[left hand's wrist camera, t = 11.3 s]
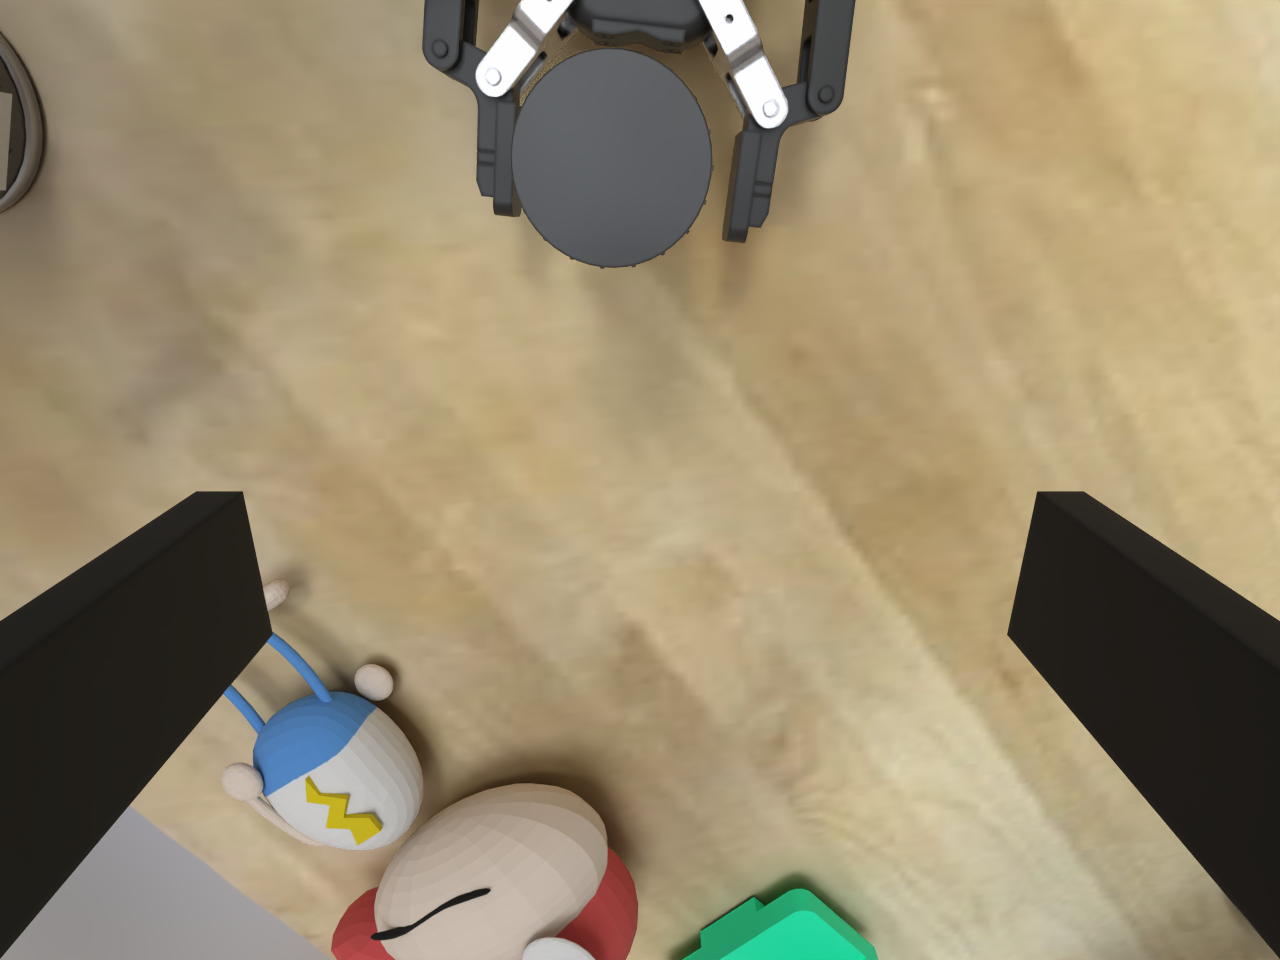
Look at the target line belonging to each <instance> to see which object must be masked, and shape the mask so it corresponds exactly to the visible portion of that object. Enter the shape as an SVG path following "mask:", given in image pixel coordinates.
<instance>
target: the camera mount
mask: <svg viewBox="0 0 1280 960" xmlns="http://www.w3.org/2000/svg"><path fill="white" fill-rule="evenodd" d="M700 938H701V948H700V949H698V950H696V951H695V952H693V953H692V954H690V955H689V956H687V957H686V958H684V959H683V960H878V958H877V954H876V951H875V948H874V946H872V945H871V944H870V943H869V942H868V941H867V940H866V939H864V938H863V937H862V936H861V935H860V934H859V933H857V932H856V931H855V930H854V929H853V928H852V927H850V926H849V925H848V924H847V923H846V922H845V921H844V920H842V919H841V918H840V917H839V916H838V915H837V914H835V913H834V912H833V911H832V910H831V909H830V908H829V907H827V906H826V905H825V904H824V903H823V902H822V901H820V900H819V899H818V898H817V897H816V896H815V895H813V894H812V893H811V892H810V891H808V890H805V889H793V890H790V891H788V892H786V893H785V894H783V895H782V896H780V897H779V898H777V899H776V900H774V901H773V902H771V903H769V904H768V905H766V906H764V905H763V904H762V903H761V902H760V901H758V900H757V899H756V898H755V897H753V898H751V899H750V900H748V901H747V902H745V903H744V904H742V905H741V906H739V907H738V908H736V909H734V910H733V911H731V912H730V913H728V914H727V915H725V916H724V917H722V918H721V919H719V920H718V921H716V922H715V923H713V924H711V925H710V926H708V927H707V928H705V929H704V930H702V931H701V932H700Z"/></svg>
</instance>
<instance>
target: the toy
mask: <svg viewBox="0 0 1280 960" xmlns="http://www.w3.org/2000/svg"><path fill="white" fill-rule="evenodd" d="M289 589H290V587H289V585H288V583H287V582H286V581H284V580H275V581H273V582H271V583H269V584H267V585H265V586H263V590H264V595H265V600H266V605H267V610H268V611H270V610H272V609H273V608H275V607H276V606H278V605H279V604H281V603H282V602H283V601H284V600H285V599H286V597H287V596H288V593H289ZM272 633H273V635H272V636H271V637H270V639H269V640H268V641H267V642H268V643H269V644H270V645H271V646H273V647H274V648H275V649H276V650H277V651H278V652H280V653H281V654H282V655H283V656H284V657H285V658H286V659H287V660H288V661H289V662H290V663H291V664H292V665H293V666H294V668H295V669H296V670H297V671H298V672H299V673H300V674H301V675H302V676H303V677H304V679H305V680H306V681H307V683H308V684H309V685H310V687H311V688H312V689H313V691H314V692H315V694H312V695H309V696H305V697H302V698H300V699H298V700H296V701H294V702H291V703H289V704H288V705H287V706H285V707H284V708H282V709H281V710H280V711H278V712H277V713H276V714H274V715H273V716H272V717H271V718H270V719H269V720H268V722H267V723H266V724H265V723H264V721H263V720H262V719H261V717H260V716H259V715H258V714H257V712H256V711H255V710H254V708H253V707H252V706H251V705H250V704H249V703H248V702H247V700H246V699H245V698H244V697H243V696H242V695H241V694H240V693H239V692H238V691H237V690H236V689H235V688H234V687H233V686H232V685H230V686H229V687H228V688H227V690H226V691H225V692H224V693H223V694H224V695H225V696H226V697H227V698H228V699H229V700H230V701H231V702H232V703H233V704H234V705H235V706H236V707H237V708H238V710H239V711H240V712H241V713H242V714H243V715H244V717H245V718H246V719H247V720H248V722H249V723H250V724H251V726H252V727H253V728H254V729H255V731H256V732H257V733H258V737H257V740H256V743H255V746H254V749H253V766H251V765H248V764H246V763H234V764H231V765H229V766H228V767H227V768H226V769H225V770H224V771H223V774H222V785H223V787H224V789H225V790H226V792H227V794H228V795H230V796H232V797H233V798H235V799H236V800H240V801H246V802H247V803H248V804H250V805H251V806H252V807H253V808H254V809H255V810H256V811H257V812H258V813H260V814H261V815H262V816H264V817H265V818H266V819H268V820H269V821H270V822H272V823H273V824H274V825H276V826H277V827H279V828H280V829H281V830H283V831H284V832H286V833H288V834H289V835H291V836H293V837H294V838H296V839H298V840H300V841H301V842H303V843H305V844H309V845H314V846H332V847H337V848H341V849H347V850H362V851H364V850H372V849H376V848H380V847H384V846H386V845H388V844H390V843H392V842H394V841H395V840H397V839H398V838H400V837H401V836H402V835H403V834H404V833H405V832H406V831H407V830H408V829H409V827H410V826H411V825H412V824H413V822H414V820H415V819H416V817H417V815H418V812H419V810H420V807H421V803H422V799H423V776H422V770H421V766H420V764H419V761H418V758H417V756H416V753H415V751H414V749H413V748H412V746H411V744H410V743H409V741H408V739H407V738H406V736H405V735H404V733H403V732H402V731H401V730H400V728H399V727H398V726H397V725H396V724H395V723H394V722H393V721H392V720H391V719H390V718H389V717H388V716H387V715H386V714H385V713H384V712H383V711H381V710H380V709H379V708H378V707H377V706H375V705H374V704H372V703H370V702H369V701H367V700H366V699H364V698H361V697H359V696H357V695H354V694H350V693H346V692H338V691H331V692H329V691H328V690H327V688H326V687H325V685H324V684H323V683H322V681H321V680H320V679H319V677H318V676H317V674H316V673H315V672H314V670H313V669H312V668H311V667H310V666H309V665H308V664H307V663H306V662H305V660H304V659H303V658H302V657H301V656H300V655H299V654H298V653H297V652H296V651H295V650H294V649H293V648H292V647H291V646H290V645H289V644H287V643H286V642H285V641H284V640H283V639H282V638H280V637H279V636H278V635H276V634H275V633H274V632H272ZM355 686H356V688H357V690H358V692H359V693H360V694H361V695H363V696H364V697H365V698H367V699H369V700H374V701H378V700H383V699H385V698H387V697H388V696H389V695H390V694H391V692H392V690H393V679H392V676H391V675H390V673H389V672H388V671H387V670H386V669H384V668H383V667H381V666H379V665H375V664H367V665H364V666H362V667H361V668H360V669H359V670H358V671H357V673H356V675H355ZM262 792H263V794H264V796H265V798H266V799H267V801H268V802H269V803H270V805H271V806H272V807H271V806H270V805H268V804H267V803H266V802H265V801H264V800H263V799H261V798H260V797H259V795H260V794H261V793H262ZM637 917H638V901H637V895H636V890H635V885H634V881H633V879H632V877H631V875H630V873H629V871H628V869H627V868H626V866H625V865H624V863H623V862H622V861H621V859H620V858H619V857H618V855H617V854H616V853H615V852H614V851H613V850H611V849H610V848H609V847H608V846H607V834H606V830H605V825H604V823H603V821H602V820H601V818H600V816H599V814H598V813H597V812H596V811H595V810H594V809H593V808H592V807H591V806H590V805H589V804H587V803H586V802H585V801H584V800H583V799H582V798H581V797H579V796H578V795H576V794H574V793H573V792H571V791H569V790H566V789H563V788H561V787H558V786H551V785H543V784H532V783H521V784H511V785H506V786H501V787H496V788H492V789H487V790H484V791H482V792H479V793H476V794H474V795H471V796H469V797H466V798H464V799H462V800H460V801H458V802H456V803H454V804H452V805H450V806H448V807H447V808H445V809H444V810H442V811H441V812H439V813H437V814H436V815H434V816H433V817H432V818H430V819H429V820H428V821H427V822H425V823H424V824H423V825H422V826H420V827H419V828H418V829H417V830H416V831H415V832H414V833H413V834H412V835H411V836H410V837H409V838H408V839H407V840H406V841H405V843H404V844H403V845H402V846H401V847H400V849H399V850H398V851H397V853H396V854H395V855H394V857H393V858H392V860H391V861H390V863H389V865H388V866H387V868H386V870H385V873H384V875H383V878H382V880H381V883H380V886H379V887H377V888H373V889H371V890H368V891H366V892H365V893H364V894H363V895H362V896H360V897H359V898H358V899H357V900H356V901H354V902H353V903H352V904H351V905H350V906H349V907H348V909H347V910H346V912H345V913H344V915H343V917H342V918H341V920H340V922H339V924H338V926H337V928H336V930H335V932H334V934H333V939H332V947H331V951H332V952H333V954H334V955H335V957H336V959H337V960H626V958H627V956H628V954H629V952H630V949H631V946H632V943H633V940H634V936H635V933H636V930H637Z"/></svg>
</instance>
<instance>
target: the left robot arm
mask: <svg viewBox="0 0 1280 960" xmlns="http://www.w3.org/2000/svg"><path fill="white" fill-rule="evenodd" d="M272 635H273V633H272V629H271V624H270V619H269V614H268V610H267V605H266V600H265V595H264V590H263V586H262V581H261V576H260V571H259V567H258V562H257V557H256V552H255V548H254V543H253V538H252V533H251V529H250V524H249V519H248V514H247V510H246V505H245V500H244V495H243V492H195V493H193V494H192V495H190V496H189V497H187V498H186V499H184V500H183V501H181V502H180V503H178V504H177V505H175V506H174V507H172V508H171V509H169V510H168V511H166V512H165V513H163V514H162V515H160V516H159V517H157V518H156V519H154V520H152V521H151V522H149V523H148V524H146V525H145V526H143V527H142V528H140V529H139V530H137V531H136V532H134V533H133V534H131V535H130V536H128V537H127V538H125V539H124V540H122V541H121V542H119V543H118V544H116V545H115V546H113V547H112V548H110V549H109V550H107V551H106V552H104V553H103V554H101V555H100V556H98V557H97V558H95V559H94V560H92V561H91V562H89V563H87V564H86V565H84V566H83V567H81V568H80V569H78V570H77V571H75V572H74V573H72V574H71V575H69V576H68V577H66V578H65V579H63V580H62V581H60V582H59V583H57V584H56V585H54V586H53V587H51V588H50V589H48V590H47V591H45V592H44V593H42V594H41V595H39V596H38V597H36V598H35V599H33V600H32V601H30V602H29V603H27V604H26V605H24V606H22V607H21V608H19V609H18V610H16V611H15V612H13V613H12V614H10V615H9V616H7V617H6V618H4V619H3V620H1V621H0V958H1V957H2V956H3V955H4V954H5V952H6V951H7V950H8V949H9V948H10V946H11V945H12V944H13V943H14V942H15V940H16V939H17V938H18V937H19V936H20V935H21V933H22V932H23V931H24V930H25V929H26V927H27V926H28V925H29V924H30V923H31V921H32V920H33V919H34V918H35V917H36V915H37V914H38V913H39V912H40V911H41V910H42V908H43V907H44V906H45V905H46V904H47V902H48V901H49V900H50V899H51V898H52V896H53V895H54V894H55V893H56V892H57V890H58V889H59V888H60V887H61V886H62V885H63V883H64V882H65V881H66V880H67V879H68V877H69V876H70V875H71V874H72V873H73V872H74V870H75V869H76V868H77V867H78V866H79V864H80V863H81V862H82V861H83V860H84V858H85V857H86V856H87V855H88V854H89V852H90V851H91V850H92V849H93V848H94V847H95V845H96V844H97V843H98V842H99V841H100V839H101V838H102V837H103V836H104V835H105V833H106V832H107V831H108V830H109V829H110V828H111V826H112V825H113V824H114V823H115V822H116V820H117V819H118V818H119V817H120V816H121V814H122V813H123V812H124V811H125V810H126V808H127V807H128V806H129V805H130V804H131V803H132V801H133V800H134V799H135V798H136V797H137V795H138V794H139V793H140V792H141V791H142V789H143V788H144V787H145V786H146V785H147V784H148V782H149V781H150V780H151V779H152V778H153V776H154V775H155V774H156V773H157V772H158V770H159V769H160V768H161V767H162V766H163V765H164V763H165V762H166V761H167V760H168V759H169V757H170V756H171V755H172V754H173V753H174V751H175V750H176V749H177V748H178V747H179V745H180V744H181V743H182V742H183V741H184V740H185V738H186V737H187V736H188V735H189V734H190V732H191V731H192V730H193V729H194V728H195V726H196V725H197V724H198V723H199V722H200V721H201V719H202V718H203V717H204V716H205V715H206V713H207V712H208V711H209V710H210V709H211V707H212V706H213V705H214V704H215V703H216V702H217V700H218V699H219V698H220V697H221V696H222V694H223V693H224V692H225V691H226V690H227V688H228V687H229V686H230V685H231V684H232V682H233V681H234V680H235V679H236V678H237V677H238V675H239V674H240V673H241V672H242V671H243V669H244V668H245V667H246V666H247V665H248V663H249V662H250V661H251V660H252V659H253V658H254V656H255V655H256V654H257V653H258V652H259V650H260V649H261V648H262V647H263V646H264V644H265V643H266V642H267V641H268V640H269V639H270V637H271V636H272ZM1007 635H1008V636H1009V637H1010V639H1011V640H1012V641H1013V642H1014V643H1015V644H1016V646H1017V647H1018V648H1019V649H1020V650H1021V652H1022V653H1023V654H1024V655H1025V656H1026V658H1027V659H1028V660H1029V661H1030V662H1031V663H1032V665H1033V666H1034V667H1035V668H1036V669H1037V671H1038V672H1039V673H1040V674H1041V675H1042V677H1043V678H1044V679H1045V680H1046V681H1047V682H1048V684H1049V685H1050V686H1051V687H1052V688H1053V690H1054V691H1055V692H1056V693H1057V694H1058V696H1059V697H1060V698H1061V699H1062V700H1063V702H1064V703H1065V704H1066V705H1067V706H1068V707H1069V709H1070V710H1071V711H1072V712H1073V713H1074V715H1075V716H1076V717H1077V718H1078V719H1079V721H1080V722H1081V723H1082V724H1083V725H1084V726H1085V728H1086V729H1087V730H1088V731H1089V732H1090V734H1091V735H1092V736H1093V737H1094V738H1095V740H1096V741H1097V742H1098V743H1099V744H1100V745H1101V747H1102V748H1103V749H1104V750H1105V751H1106V753H1107V754H1108V755H1109V756H1110V757H1111V759H1112V760H1113V761H1114V762H1115V763H1116V765H1117V766H1118V767H1119V768H1120V769H1121V770H1122V772H1123V773H1124V774H1125V775H1126V776H1127V778H1128V779H1129V780H1130V781H1131V782H1132V784H1133V785H1134V786H1135V787H1136V788H1137V789H1138V791H1139V792H1140V793H1141V794H1142V795H1143V797H1144V798H1145V799H1146V800H1147V801H1148V803H1149V804H1150V805H1151V806H1152V807H1153V809H1154V810H1155V811H1156V812H1157V813H1158V814H1159V816H1160V817H1161V818H1162V819H1163V820H1164V822H1165V823H1166V824H1167V825H1168V826H1169V828H1170V829H1171V830H1172V831H1173V832H1174V833H1175V835H1176V836H1177V837H1178V838H1179V839H1180V841H1181V842H1182V843H1183V844H1184V845H1185V847H1186V848H1187V849H1188V850H1189V851H1190V852H1191V854H1192V855H1193V856H1194V857H1195V858H1196V860H1197V861H1198V862H1199V863H1200V864H1201V866H1202V867H1203V868H1204V869H1205V870H1206V872H1207V873H1208V874H1209V875H1210V876H1211V877H1212V879H1213V880H1214V881H1215V882H1216V883H1217V885H1218V886H1219V887H1220V888H1221V889H1222V891H1223V892H1224V893H1225V894H1226V895H1227V896H1228V898H1229V899H1230V900H1231V901H1232V902H1233V904H1234V905H1235V907H1236V908H1237V909H1238V911H1239V912H1240V913H1241V914H1242V915H1243V917H1244V918H1245V919H1246V920H1247V921H1248V923H1249V924H1250V925H1251V926H1252V927H1253V928H1254V929H1255V930H1256V931H1257V932H1258V933H1259V935H1260V936H1261V937H1262V938H1263V939H1264V940H1265V942H1266V943H1267V944H1268V945H1269V946H1270V948H1271V949H1272V950H1273V951H1274V952H1275V954H1276V955H1277V956H1278V957H1279V958H1280V621H1279V620H1277V619H1276V618H1274V617H1273V616H1271V615H1270V614H1268V613H1267V612H1265V611H1264V610H1262V609H1261V608H1259V607H1258V606H1256V605H1254V604H1253V603H1251V602H1250V601H1248V600H1247V599H1245V598H1244V597H1242V596H1241V595H1239V594H1238V593H1236V592H1235V591H1233V590H1232V589H1230V588H1229V587H1227V586H1226V585H1224V584H1223V583H1221V582H1220V581H1218V580H1217V579H1215V578H1214V577H1212V576H1211V575H1209V574H1208V573H1206V572H1205V571H1203V570H1202V569H1200V568H1199V567H1197V566H1196V565H1194V564H1193V563H1191V562H1189V561H1188V560H1186V559H1185V558H1183V557H1182V556H1180V555H1179V554H1177V553H1176V552H1174V551H1173V550H1171V549H1170V548H1168V547H1167V546H1165V545H1164V544H1162V543H1161V542H1159V541H1158V540H1156V539H1155V538H1153V537H1152V536H1150V535H1149V534H1147V533H1146V532H1144V531H1143V530H1141V529H1140V528H1138V527H1137V526H1135V525H1134V524H1132V523H1131V522H1129V521H1128V520H1126V519H1124V518H1123V517H1121V516H1120V515H1118V514H1117V513H1115V512H1114V511H1112V510H1111V509H1109V508H1108V507H1106V506H1105V505H1103V504H1102V503H1100V502H1099V501H1097V500H1096V499H1094V498H1093V497H1091V496H1090V495H1088V494H1087V493H1085V492H1037V495H1036V500H1035V505H1034V510H1033V514H1032V519H1031V524H1030V529H1029V533H1028V538H1027V543H1026V548H1025V552H1024V557H1023V562H1022V567H1021V571H1020V576H1019V581H1018V586H1017V590H1016V595H1015V600H1014V605H1013V609H1012V614H1011V619H1010V624H1009V629H1008V633H1007Z"/></svg>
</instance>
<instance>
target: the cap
mask: <svg viewBox="0 0 1280 960" xmlns="http://www.w3.org/2000/svg"><path fill="white" fill-rule="evenodd" d="M511 170H512V177H513V182H514V186H515V190H516V194H517V196H518V199H519V201H520V204H521V206H522V208H523V211H524V213H525V214H526V216H527V217H528V219H529V220H530V222H531V223H532V225H533V226H534V228H535V229H536V230H537V231H538V232H539V233H540V235H541V236H542V237H543V239H544V240H545V241H547V242H548V243H550V244H551V245H552V246H553V247H554V248H556V249H557V250H559V251H560V252H562V253H563V254H565V255H566V256H569V257H570V259H572V260H573V259H575V260H577V261H580V262H583V263H586V264H589V265H593V266H599V267H600V268H602V269H604V268H605V267H610V268H617V267H628V266H632V267H635V266H636V264H640V263H643V262H646V261H648V260H651V259H653V258H655V257H657V256H658V255H660V254H661V255H664V254H665V251H666V250H668V249H669V248H671V247H672V246H673V245H674V244H675V243H676V242H678V241H679V240H680V239H681V238H682V237H683V236H684V234H685V233H686V234H688V233H689V228H690V227H691V226H692V224H693V223H694V221H695V219H696V218H697V216H698V215H699V212H700V210H701V208H702V206H703V205H705V203H706V200H705V198H706V195H707V192H708V189H709V184H710V179H711V172H712V170H713V166H712V145H711V140H710V129H709V130H708V126H707V123H706V120H705V117H704V115H703V112H702V110H701V108H700V105H699V104H698V102H697V98H696V97H695V96H694V95H693V94H692V92H691V91H690V90H689V88H688V87H687V86H686V84H685V83H684V82H683V81H682V80H681V79H680V78H679V77H678V76H677V75H676V74H675V73H674V72H673V71H672V70H671V69H669V68H668V67H666V66H665V65H663V64H662V63H661V62H659V61H657V60H655V59H653V58H651V57H649V56H647V55H644V54H642V53H639V52H636V51H631V50H626V49H621V48H601V49H593V50H589V51H585V52H581V53H579V54H576V55H574V56H571V57H569V58H567V59H565V60H564V61H562V62H560V63H559V64H557V65H555V66H554V67H553V68H552V69H551V70H549V71H548V72H547V73H546V74H545V75H544V76H543V77H542V78H541V79H540V80H539V81H538V82H537V83H536V84H535V86H534V87H533V89H532V90H531V91H530V93H529V94H528V96H527V97H526V99H525V101H524V103H523V105H522V107H521V109H520V112H519V114H518V117H517V120H516V122H515V127H514V131H513V135H512V143H511Z"/></svg>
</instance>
